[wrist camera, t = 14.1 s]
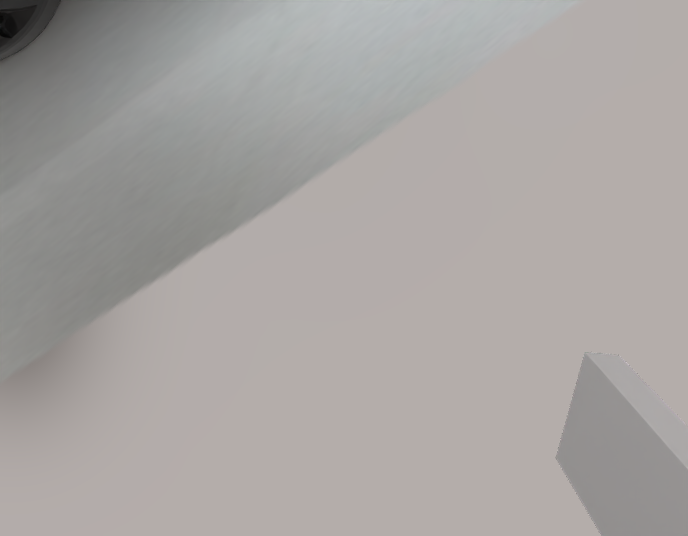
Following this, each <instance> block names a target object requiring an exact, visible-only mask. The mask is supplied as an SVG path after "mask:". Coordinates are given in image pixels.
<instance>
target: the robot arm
mask: <svg viewBox="0 0 688 536" xmlns="http://www.w3.org/2000/svg"><path fill="white" fill-rule="evenodd" d="M59 2H60V0H0V60H1V59H3V58H6V57H8V56H10V55H12V54H14V53H16V52H18V51H19V50H21V49H22V48H24V47H25V46H26V45H28V44H29V43H30V42H32V41H33V40H34V39H35V38H36V37H37V36H38V35H39V34H40V33H41V32H42V30H43V29H44V28H45V27H46V25H47V24H48V23H49V21H50V20H51V18H52V16H53V15H54V13H55V11H56V9H57V7H58V5H59ZM556 460H557V461H558V463H559V465H560V466H561V468H562V470H563V471H564V473H565V475H566V477H567V478H568V480H569V482H570V483H571V485H572V487H573V488H574V490H575V492H576V494H577V495H578V497H579V499H580V500H581V502H582V504H583V505H584V507H585V509H586V510H587V512H588V514H589V516H590V517H591V519H592V521H593V522H594V524H595V526H596V527H597V529H598V531H599V533H600V534H601V536H688V426H687V425H686V424H685V423H684V422H683V420H682V419H681V418H680V417H679V416H678V415H677V414H676V413H675V412H674V411H673V410H672V409H671V408H670V407H669V406H668V405H667V404H666V403H665V402H664V401H663V400H662V399H661V398H660V397H659V396H658V395H657V394H656V393H655V392H654V391H653V390H652V389H651V388H650V387H649V386H648V385H647V384H646V382H644V380H643V379H642V378H641V377H640V376H639V375H638V374H637V373H636V372H635V371H634V370H633V369H632V368H631V367H630V366H629V365H628V364H627V363H626V362H625V361H624V360H623V359H622V358H621V357H620V356H619V355H615V354H602V353H589V352H585V354H584V357H583V361H582V365H581V368H580V372H579V375H578V379H577V383H576V386H575V390H574V393H573V397H572V401H571V404H570V408H569V412H568V415H567V419H566V422H565V426H564V430H563V433H562V437H561V441H560V444H559V447H558V451H557V455H556Z"/></svg>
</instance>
